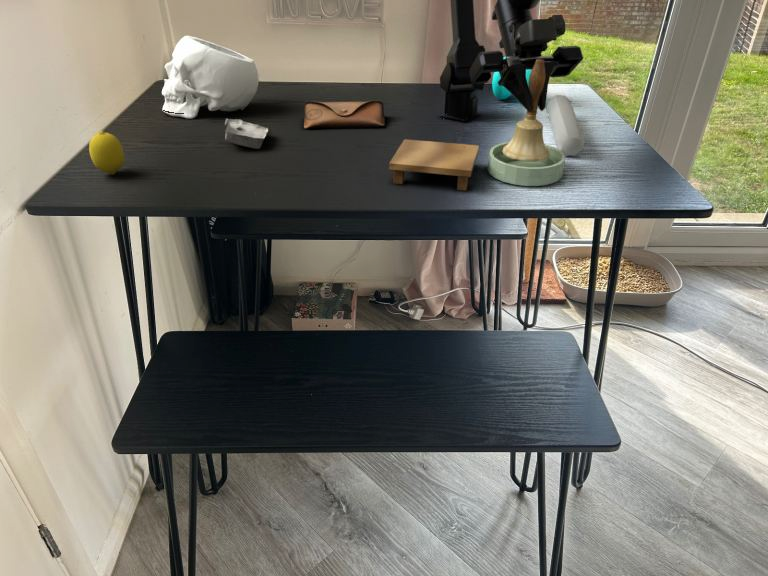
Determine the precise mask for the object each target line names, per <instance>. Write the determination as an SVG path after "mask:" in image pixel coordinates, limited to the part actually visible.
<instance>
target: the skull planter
mask: <svg viewBox="0 0 768 576" xmlns="http://www.w3.org/2000/svg"><path fill="white" fill-rule="evenodd" d="M171 55H172V58H171V61H169V62H166V63H165V65H164V69H165V72H166V73H167V79H166V78H165V79H163V80H164V85H163V87H162V90H161V95H162V96H164V103H163V106H162V112H164V113H165V114H167V115H168V116H170V117H179V118H185V119H189V120H190V119H191V120H192V119H194V118H196V117H197V116H198V113H199V111H200V108H201V107H204V106H205V105H207V108H208V111H210V112H216V111H218V110H219V111H220V112H235V111H238V110H241V111H243V110H244V109H245V108H246V107H248V105H249V104H250V103H251V101H252V100H253V98H254V97H255V95H256V94H257V91H258V88H259V81H260V80H259V76H260V75H259V72H258V68H257V66H256V64H255V61H254V59H252V58H250V57H248V56H246V55H244V54H242V53H240V52H237V51H235V50H233V49H230V48H227V47H225V46H222V45H219V44H217V43H214V42H211V41H208V40H205V39H202V38H199V37H195V36H191V35H184V36H183V37H181V39H180V40H179V41H178V42H177V43H176V45H175V48H174V50H173V52H172V54H171ZM163 110H165V111H169V112H174V113H168V112H165V111H163ZM175 113H184V114H175Z"/></svg>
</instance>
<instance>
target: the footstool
mask: <svg viewBox="0 0 768 576" xmlns="http://www.w3.org/2000/svg"><path fill="white" fill-rule="evenodd" d="M479 153H480V145H477V144H468V143H467V144H465V143H453V142H443V141H430V140H429V141H427V140H417V139H403V141H402V142H401V143H400V145H399V147H398V149H397V150H396V152H395V154H394V155H393V156H392V158H391V159H390V161H389V164H388V165H389V166H388V170H391V171H393V177H392V178H393V182H392V183H393V184H394V185H403V184H404V182H405V172H413V173H423V174H434V175H444V176H455V177H457V183H456V185H457V186H456V190H457V191H467V190H468V187H469V185H468V184H469V178H472V174H473V172H474V168H475V164H476V161H477V158H478V156H479Z"/></svg>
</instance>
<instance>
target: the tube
mask: <svg viewBox="0 0 768 576" xmlns="http://www.w3.org/2000/svg"><path fill="white" fill-rule="evenodd" d="M545 111H546V113H547V115H548V118H549V122H550V126H551V130H552V134H553V138H554V141H555V146H556V148H557V149H559V150H560V151H562V152H563V154H564V155H565V157H566V156H567V157H576V156H577V155H578V154H579V153H580V152H581V151H582V150H583V149H584V143H585V137H584V134H583V132H582V128H581V126H580V124H579V121H578V118H577V116H576V112H575V110H574V108H573V105H572V101H571V99H570V98H568V97H567V96H566V95H564V94H554V95H553V97H551V98H550V99H549V100H548V102H547V104H546V110H545Z"/></svg>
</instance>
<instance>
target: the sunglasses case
mask: <svg viewBox="0 0 768 576" xmlns="http://www.w3.org/2000/svg"><path fill="white" fill-rule="evenodd" d="M384 110H385V109H384V103H383V102H382V101H380V100H369V101H328V102H327V101H326V102H324V101H323V102H322V101H307V102H306V103H305V104H304V120H303V121H304V122H303V129H317V128H318V129H322V128H323V129H329V128H330V129H335V128H336V129H338V128H339V129H340V128H341V129H363V128H375V127H384V126H385V127H386V123H385V122H386V120H385V113H384Z"/></svg>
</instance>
